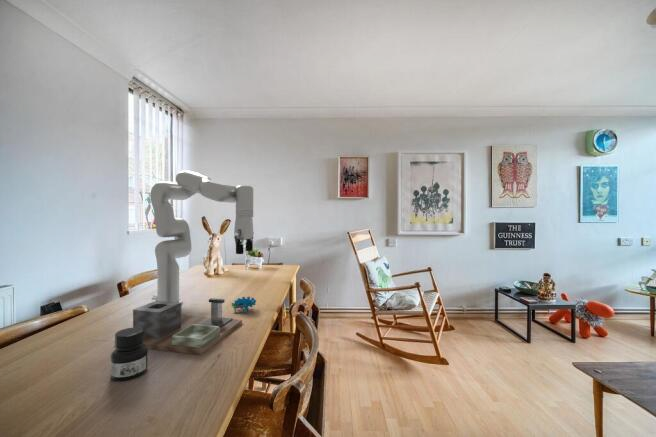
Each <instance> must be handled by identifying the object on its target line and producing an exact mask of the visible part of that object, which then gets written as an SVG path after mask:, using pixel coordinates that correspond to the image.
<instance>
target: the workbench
mask: <svg viewBox="0 0 656 437" xmlns="http://www.w3.org/2000/svg"><path fill="white" fill-rule="evenodd" d="M242 324H243V319H235V318H231V317H222V321H220V322H219V323H212V322H211V316H200V315H190V314H182V304H181V303H176V302H164V301H156V300H155V301H152V302H150V303H148V304H144V305H142V306H140V307H139V306H138V308H134V309H132V327H140V328H143V344H145V345H146V346H147V348H148V350H156V351H163V352H164V351H165V352H172V353H180V354H189V355H199V356H203V355H204V354H205V353H206V352H208V351H209V349H211V348H213V347H214V346H215V345H216V344H218V343H219V342H221V340H223V339H224V338H225V337H227V336H228V335H229V334H230V333H232V332H233V331H235V329H237V328H238V327H239V326H241V325H242Z"/></svg>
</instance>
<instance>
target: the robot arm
mask: <svg viewBox="0 0 656 437" xmlns="http://www.w3.org/2000/svg"><path fill="white" fill-rule="evenodd" d="M149 193H150V194H149V196H150V197H149V198H150V201H151V202H150V203H151V206H152V210H153V216H154V217H153V218H154V224H155V230H156V235H157V236H158V237H160V238H174V239H167V240H162V241H160V242H158V243H157V244H156V246H155V247H154V254H155V258H156V268H157V270H156V271H157V272H156V273H157V274H156V275H157V276H156V278H157V280H156V282H157V287H156V288H157V294H152V297H151V300H153V301H154V300H155V301H164V302H176V303H181V305H182V304H183V299H182V298H180V266H179V263H178V262H177V259H180V258H186V257H188V256H189V255H190V254H191V252H192V238H191V231H190V230H191V229H190V226H189V223H188V222H187V220H185V219H184V218H180V217H175V213H174V207H173V206H172V205H171V203H170V202H169V200H172V201H173V200H175V201H185V200H188V199H190V198H192V197H193V196H195V195H196V194H199V195H201V196H202V197H204V198H206V199H209V200H212V201H215V202H219V203H231V204H232V203H233V204H234V203H235V221H234V234H233V239H234V242H235V243H234V244H235V254H236V255H243V254H244V241H246V242H245V251H246V252H253V249H254V248H253V247H254V246H253V245H254V244H253V242H254V234H255V233H254V224H253V223H254V222H253V220H254V219H253V218H254V188H253V187H252V186H251V185H237V186H236V185H235V186H234V185H227V184H221V183H217V182H213V181H212V179H211V178H210V177H208V176H205V175H204V174H203V173H200V172H196V171H191V170H182V171H179V172H178V173H177V174H176V176H175V182H173V181H160V182H156V183H155V184H154V185H153V186H152V187H151V189H150V192H149Z"/></svg>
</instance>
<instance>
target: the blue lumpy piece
mask: <svg viewBox="0 0 656 437" xmlns="http://www.w3.org/2000/svg"><path fill="white" fill-rule="evenodd" d="M256 303H257V300H256V299H255V298H254V297H251V296H247V298H246V297H245V296H242V297H241V298H239V297H238V298H237V299H236V300H234V302H231V307H232V308H233V310H234V311H233V313H234V314H236V313H237V309H241V310H242V309H243V313H244V314H246V313H247V309H249V307H250V308H252V307H253V306H255V305H256Z"/></svg>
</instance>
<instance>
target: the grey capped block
mask: <svg viewBox="0 0 656 437" xmlns="http://www.w3.org/2000/svg"><path fill="white" fill-rule="evenodd" d="M208 303H210V317H211V322H212V323H219V322H220V321H222V318H223V304H224V303H225V299H224V298H214V297H213V298H209V299H208Z"/></svg>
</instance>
